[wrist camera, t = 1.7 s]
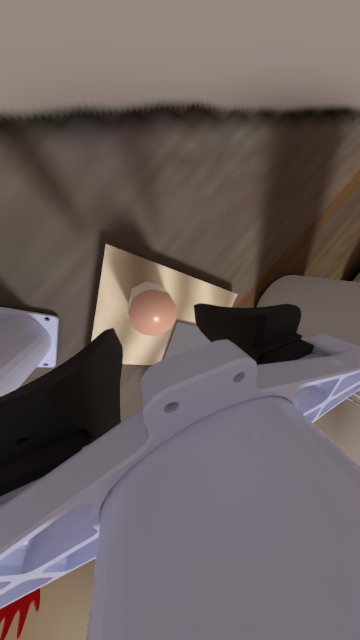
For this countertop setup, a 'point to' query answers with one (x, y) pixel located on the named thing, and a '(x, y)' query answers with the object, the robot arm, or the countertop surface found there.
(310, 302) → the cylinder vase
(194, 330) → the pad
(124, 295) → the board
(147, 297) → the brown egg in cup
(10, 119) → the countertop surface
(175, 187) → the countertop surface
